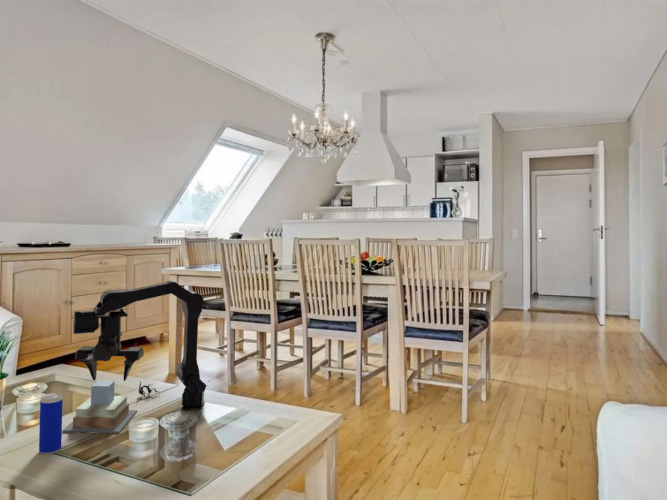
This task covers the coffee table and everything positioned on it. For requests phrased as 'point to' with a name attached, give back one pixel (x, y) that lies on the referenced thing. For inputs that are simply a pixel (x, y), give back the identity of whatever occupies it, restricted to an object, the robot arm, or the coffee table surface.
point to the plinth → (100, 420)
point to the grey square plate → (102, 430)
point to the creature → (147, 389)
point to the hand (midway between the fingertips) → (109, 380)
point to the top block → (102, 393)
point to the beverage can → (50, 423)
